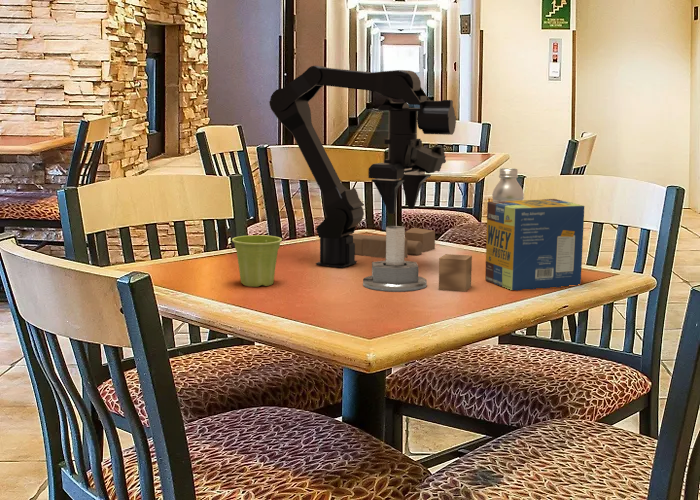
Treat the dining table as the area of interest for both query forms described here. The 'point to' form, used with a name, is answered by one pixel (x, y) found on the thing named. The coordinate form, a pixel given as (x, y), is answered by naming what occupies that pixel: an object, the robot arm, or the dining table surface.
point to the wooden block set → (376, 245)
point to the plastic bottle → (508, 186)
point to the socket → (395, 277)
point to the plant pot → (257, 258)
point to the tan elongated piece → (395, 245)
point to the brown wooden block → (455, 272)
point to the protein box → (534, 243)
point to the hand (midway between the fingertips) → (401, 211)
